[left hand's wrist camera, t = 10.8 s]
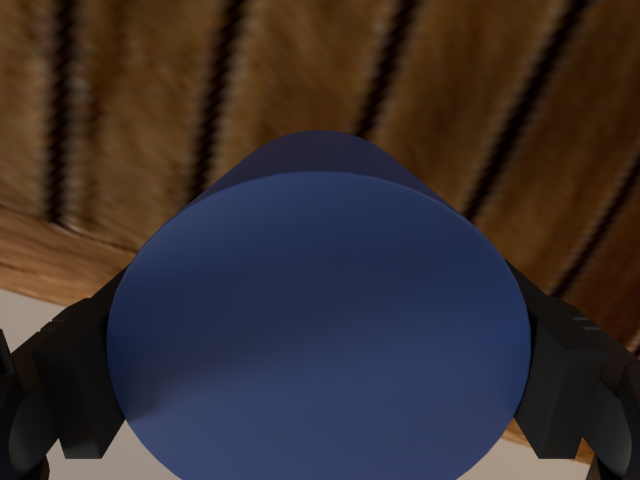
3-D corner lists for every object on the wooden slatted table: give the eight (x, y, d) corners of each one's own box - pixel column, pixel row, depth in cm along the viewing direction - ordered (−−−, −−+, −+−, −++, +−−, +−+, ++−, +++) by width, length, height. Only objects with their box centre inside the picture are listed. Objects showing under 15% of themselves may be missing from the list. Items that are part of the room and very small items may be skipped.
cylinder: (255, 349, 18) (204, 550, 10) (178, 168, 15) (17, 249, 7) (443, 302, 17) (549, 481, 9) (400, 99, 14) (506, 103, 6)
